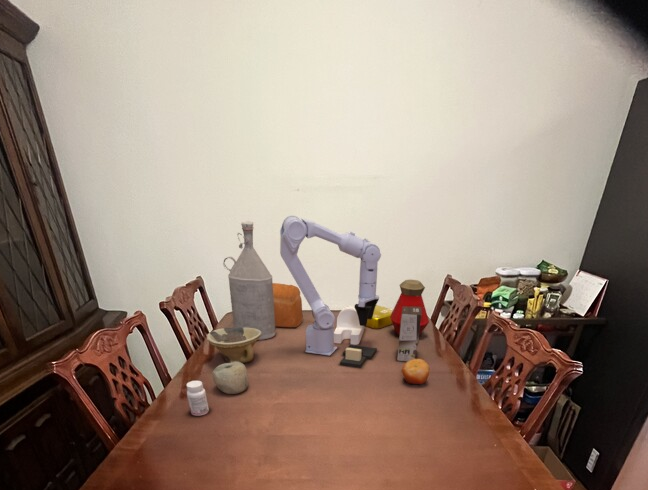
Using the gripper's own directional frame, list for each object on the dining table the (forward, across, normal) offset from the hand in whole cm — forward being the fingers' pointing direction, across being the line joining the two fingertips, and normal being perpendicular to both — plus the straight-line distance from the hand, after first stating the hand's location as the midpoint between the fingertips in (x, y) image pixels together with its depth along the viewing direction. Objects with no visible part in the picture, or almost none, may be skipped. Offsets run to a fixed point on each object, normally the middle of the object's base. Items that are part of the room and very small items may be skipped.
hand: (365, 322), depth 146 cm
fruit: (+10, -22, -22) cm, 33 cm away
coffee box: (+10, -3, -16) cm, 19 cm away
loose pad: (+9, -14, 0) cm, 17 cm away
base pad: (+9, -6, 0) cm, 11 cm away
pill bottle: (+10, -60, +29) cm, 67 cm away
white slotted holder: (+10, +10, +9) cm, 17 cm away
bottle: (+10, +19, -12) cm, 24 cm away
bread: (+10, +14, +45) cm, 48 cm away
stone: (+10, -45, +28) cm, 54 cm away
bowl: (+10, -26, +38) cm, 47 cm away
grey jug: (+10, -2, +44) cm, 45 cm away
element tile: (+10, +30, +4) cm, 32 cm away
